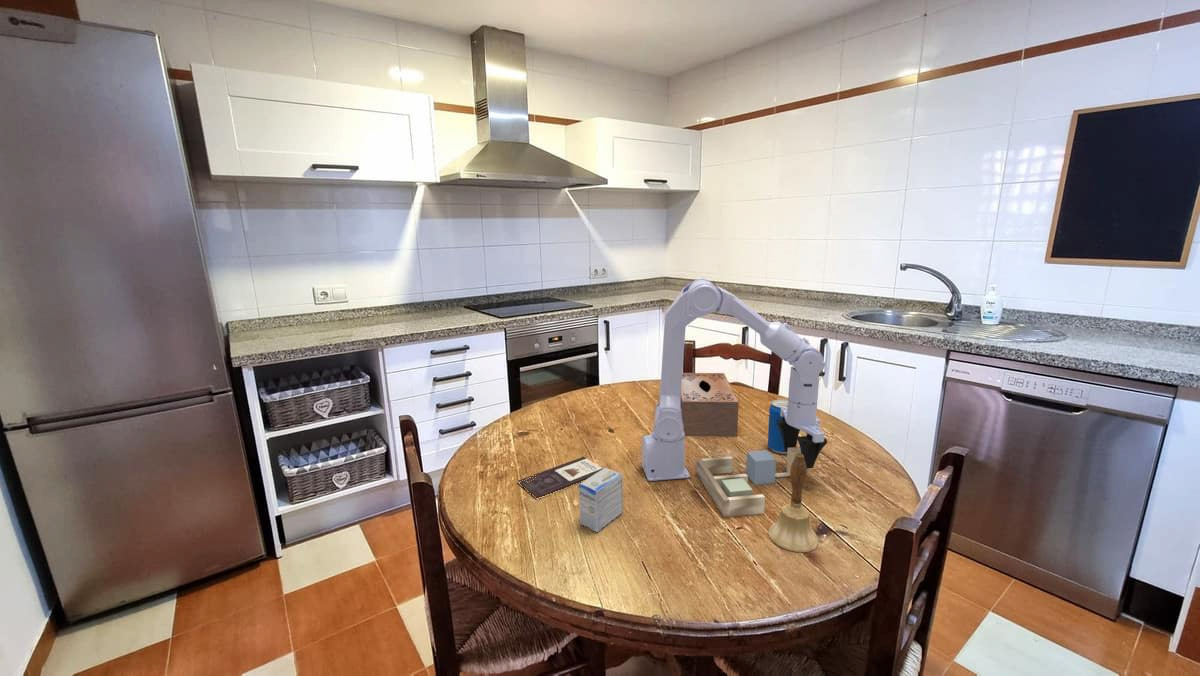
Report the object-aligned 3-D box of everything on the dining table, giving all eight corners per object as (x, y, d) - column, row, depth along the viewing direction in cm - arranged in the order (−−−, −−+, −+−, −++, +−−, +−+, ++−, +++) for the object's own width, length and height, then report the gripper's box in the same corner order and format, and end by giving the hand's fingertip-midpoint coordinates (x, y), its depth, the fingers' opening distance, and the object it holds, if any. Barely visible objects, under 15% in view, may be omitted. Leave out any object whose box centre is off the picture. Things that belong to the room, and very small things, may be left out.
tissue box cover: (677, 402, 151) (677, 372, 149) (723, 403, 149) (723, 373, 147) (681, 436, 126) (682, 401, 124) (737, 437, 124) (738, 401, 122)
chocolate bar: (517, 480, 104) (583, 456, 115) (517, 484, 105) (583, 460, 115) (537, 497, 97) (605, 470, 108) (537, 502, 98) (606, 474, 108)
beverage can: (798, 456, 112) (801, 409, 110) (769, 454, 114) (771, 407, 111) (792, 444, 119) (795, 399, 116) (765, 443, 120) (767, 398, 117)
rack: (723, 517, 90) (724, 500, 89) (696, 473, 106) (696, 459, 105) (764, 513, 90) (765, 497, 90) (730, 470, 107) (731, 456, 106)
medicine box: (605, 506, 95) (604, 466, 93) (623, 513, 92) (622, 473, 90) (579, 525, 89) (577, 483, 87) (598, 534, 86) (596, 491, 84)
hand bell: (825, 535, 83) (832, 452, 80) (809, 559, 77) (815, 471, 74) (778, 517, 89) (783, 439, 85) (760, 539, 83) (764, 456, 79)
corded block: (754, 484, 101) (755, 459, 99) (746, 474, 105) (747, 449, 104) (808, 480, 102) (809, 454, 100) (797, 470, 106) (798, 445, 105)
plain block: (729, 510, 92) (730, 491, 91) (721, 497, 96) (721, 480, 95) (751, 508, 92) (752, 489, 92) (742, 495, 97) (743, 478, 96)
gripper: (840, 411, 93) (835, 474, 96) (802, 388, 107) (798, 443, 110) (807, 413, 93) (802, 476, 96) (773, 390, 107) (769, 445, 110)
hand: (798, 459), depth 103 cm, fingers open, 7 cm apart
